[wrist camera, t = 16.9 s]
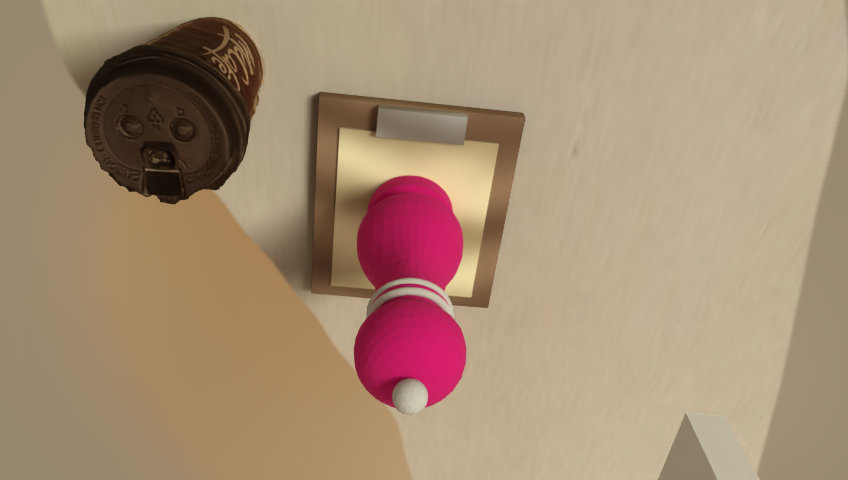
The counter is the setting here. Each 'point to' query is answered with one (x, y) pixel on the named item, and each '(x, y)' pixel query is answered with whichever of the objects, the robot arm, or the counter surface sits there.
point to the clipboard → (418, 156)
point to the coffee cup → (176, 109)
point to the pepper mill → (410, 295)
